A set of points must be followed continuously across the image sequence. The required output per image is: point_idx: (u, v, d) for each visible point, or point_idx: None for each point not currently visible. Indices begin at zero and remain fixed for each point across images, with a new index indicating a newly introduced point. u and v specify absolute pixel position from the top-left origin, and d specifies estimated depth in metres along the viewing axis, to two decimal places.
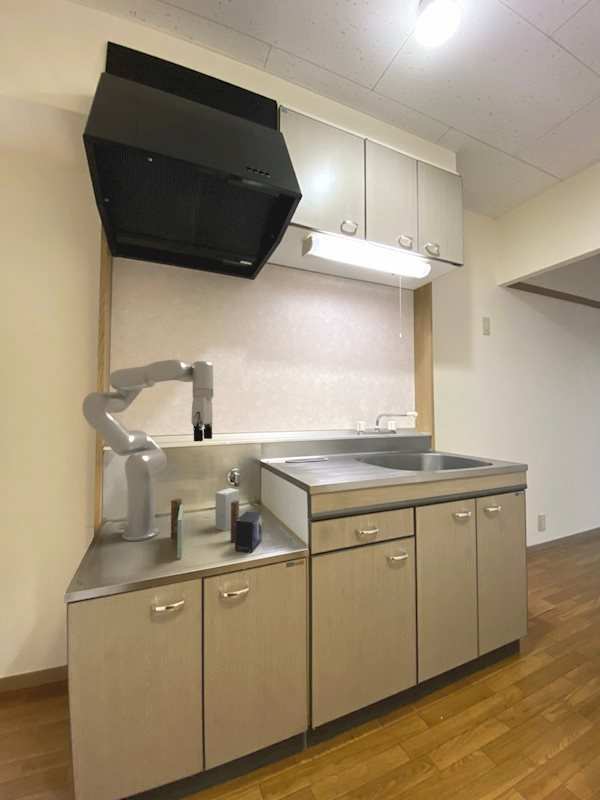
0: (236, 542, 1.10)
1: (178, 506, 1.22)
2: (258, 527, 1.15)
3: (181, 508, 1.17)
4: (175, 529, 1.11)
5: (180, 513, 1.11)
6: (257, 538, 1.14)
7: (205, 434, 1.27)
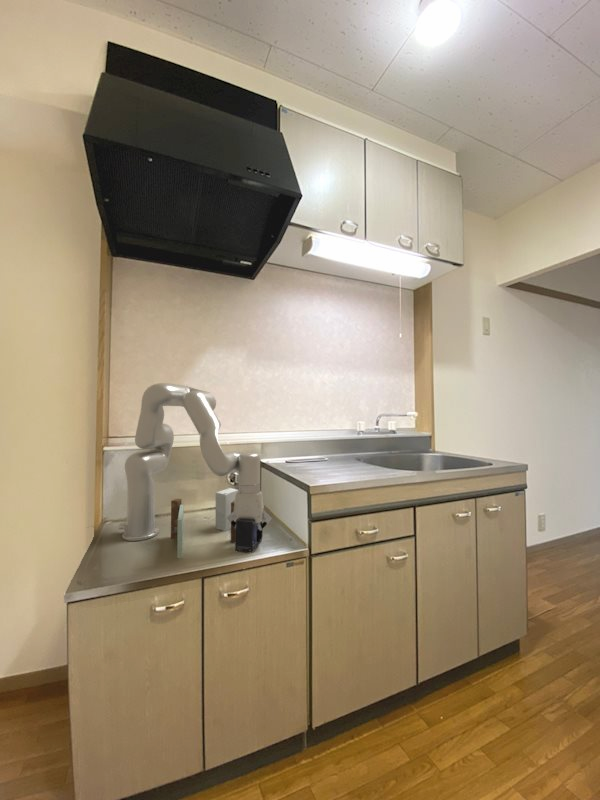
0: (236, 542, 1.10)
1: (178, 506, 1.22)
2: None
3: (181, 508, 1.17)
4: (175, 529, 1.11)
5: (180, 513, 1.11)
6: None
7: None
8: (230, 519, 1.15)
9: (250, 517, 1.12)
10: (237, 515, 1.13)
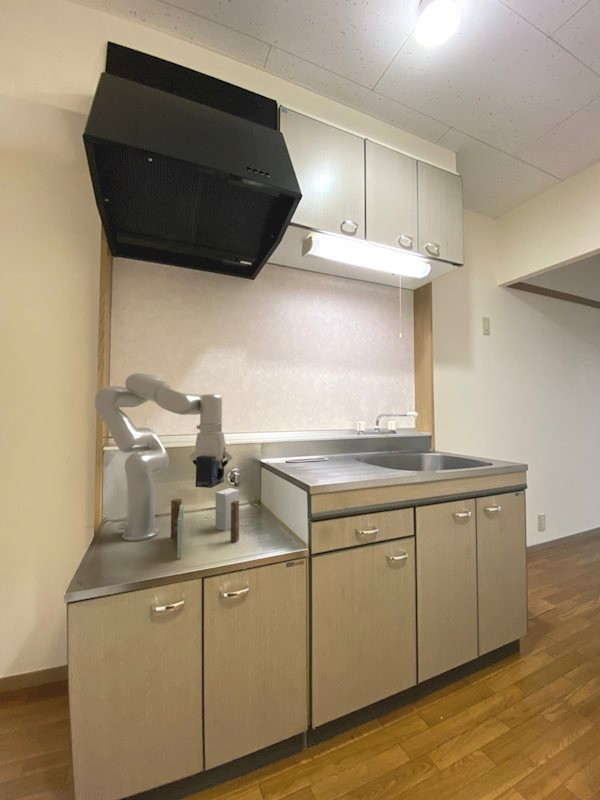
0: (196, 478, 1.13)
1: (178, 506, 1.22)
2: None
3: (181, 508, 1.17)
4: (175, 529, 1.11)
5: (180, 513, 1.11)
6: None
7: None
8: (192, 458, 1.18)
9: (211, 455, 1.15)
10: (198, 453, 1.15)
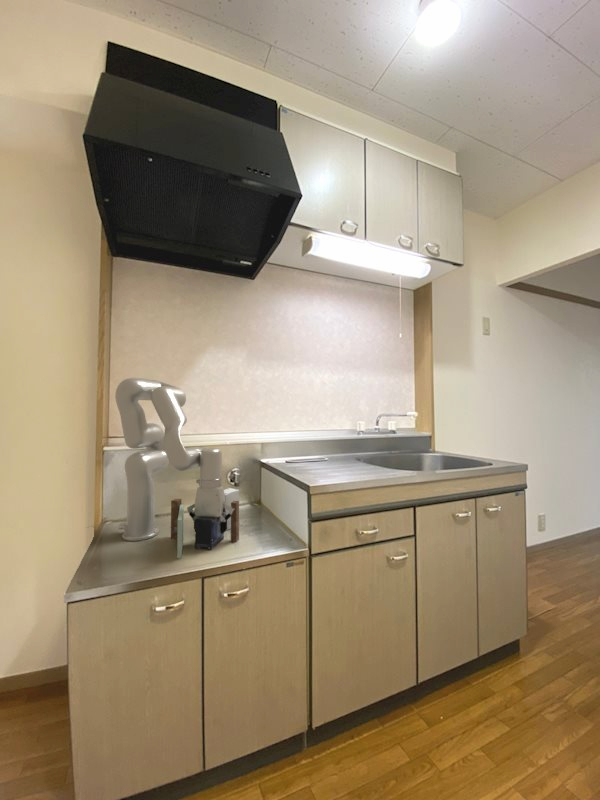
0: (196, 540, 1.12)
1: (178, 506, 1.22)
2: (219, 525, 1.17)
3: (181, 508, 1.17)
4: (175, 529, 1.11)
5: (180, 513, 1.11)
6: (217, 536, 1.16)
7: None
8: (189, 510, 1.17)
9: (210, 511, 1.14)
10: (198, 509, 1.15)
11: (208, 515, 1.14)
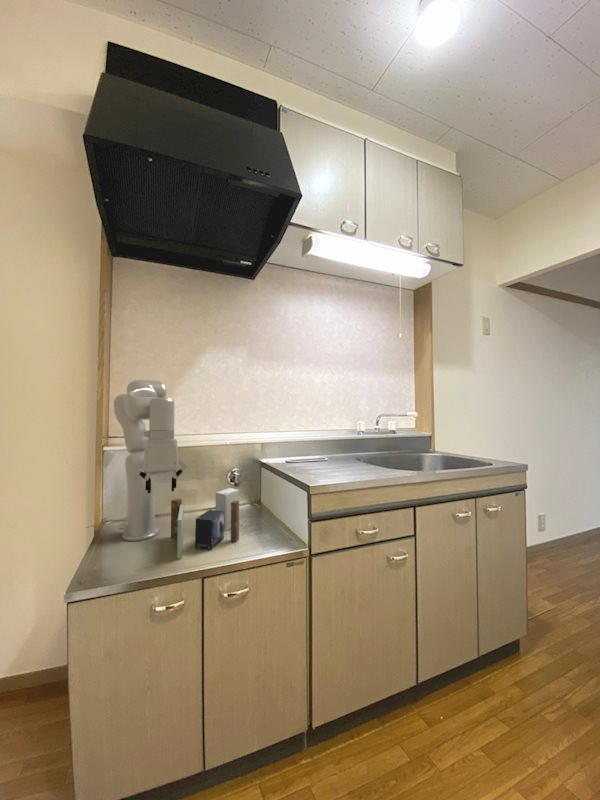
0: (196, 540, 1.12)
1: (178, 506, 1.22)
2: (219, 525, 1.17)
3: (181, 508, 1.17)
4: (175, 529, 1.11)
5: (180, 513, 1.11)
6: (217, 536, 1.16)
7: (150, 487, 1.04)
8: (138, 471, 1.03)
9: (165, 465, 1.04)
10: (149, 464, 1.02)
11: (162, 469, 1.03)
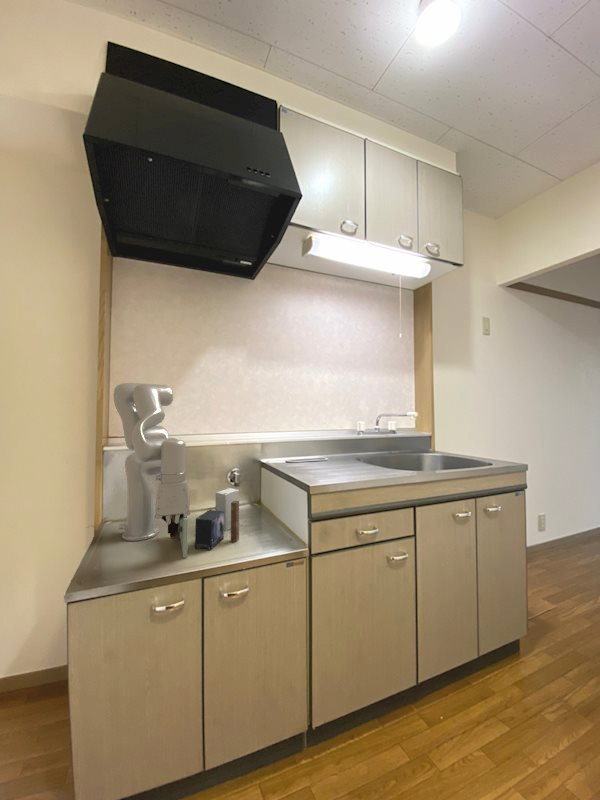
0: (196, 540, 1.12)
1: None
2: (219, 525, 1.17)
3: None
4: (179, 529, 1.11)
5: None
6: (217, 536, 1.16)
7: None
8: (160, 516, 1.05)
9: (176, 508, 1.04)
10: (161, 508, 1.03)
11: (174, 513, 1.04)
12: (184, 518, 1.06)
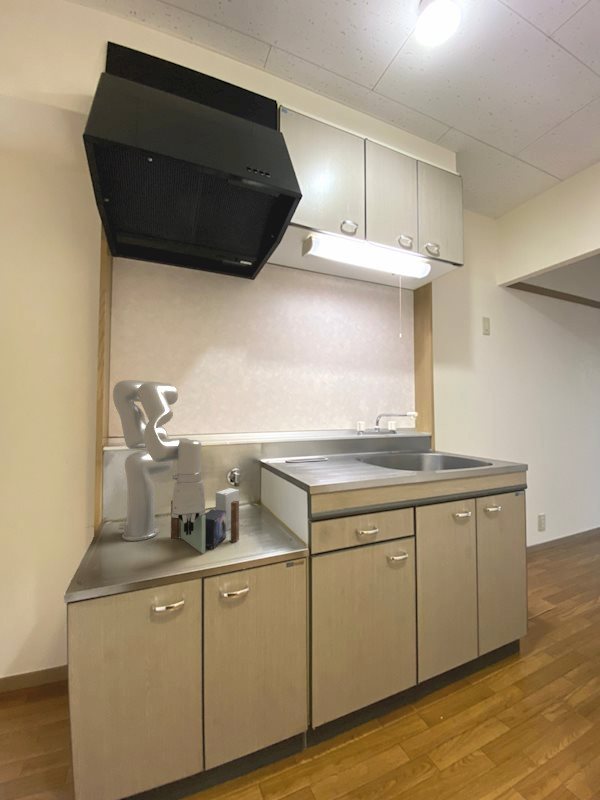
0: None
1: None
2: (222, 524, 1.18)
3: None
4: None
5: None
6: (220, 535, 1.16)
7: None
8: (176, 515, 1.07)
9: (193, 507, 1.06)
10: (178, 507, 1.05)
11: (190, 512, 1.06)
12: (201, 515, 1.09)
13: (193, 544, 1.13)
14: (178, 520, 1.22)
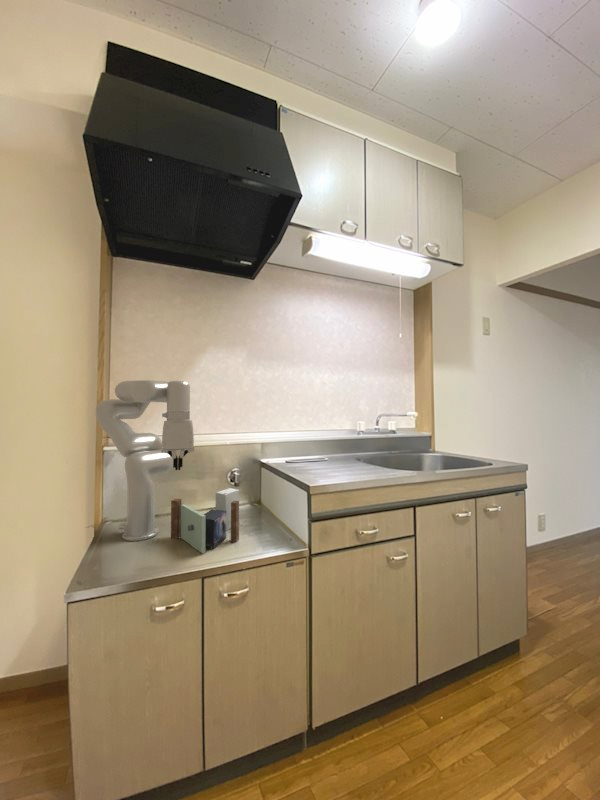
0: None
1: (178, 506, 1.22)
2: (222, 524, 1.18)
3: (188, 507, 1.18)
4: (190, 527, 1.12)
5: (194, 511, 1.14)
6: (220, 535, 1.16)
7: None
8: (166, 451, 1.12)
9: (182, 443, 1.12)
10: (167, 442, 1.10)
11: (179, 447, 1.11)
12: (201, 515, 1.09)
13: (193, 544, 1.13)
14: (178, 520, 1.22)
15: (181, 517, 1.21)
